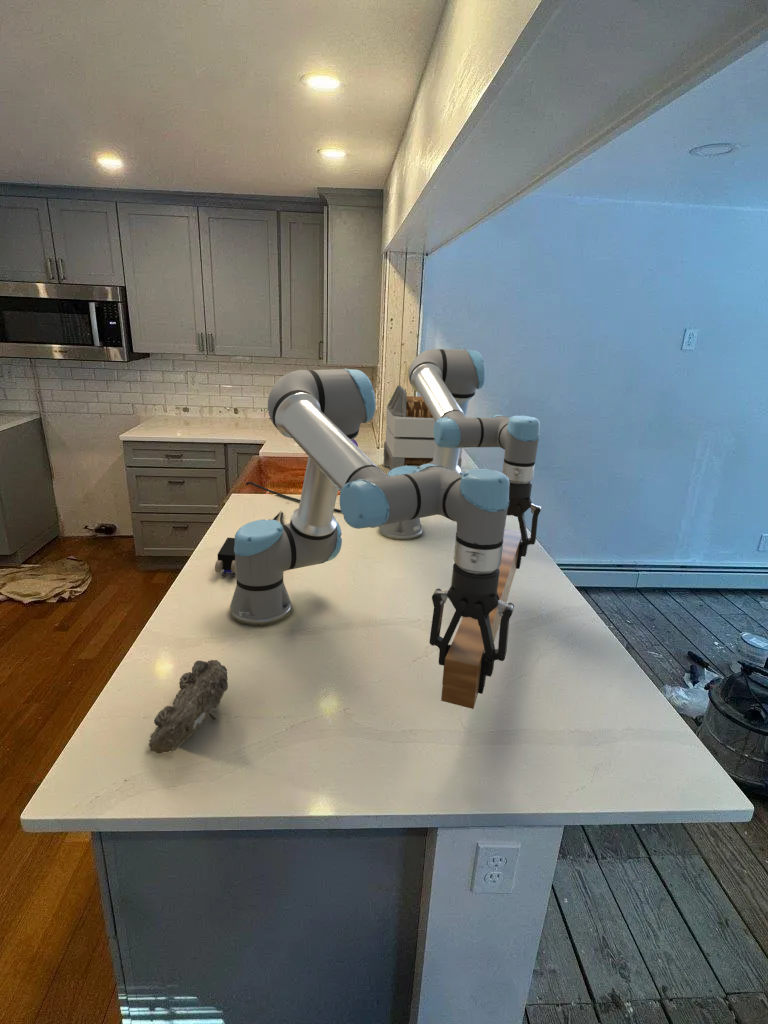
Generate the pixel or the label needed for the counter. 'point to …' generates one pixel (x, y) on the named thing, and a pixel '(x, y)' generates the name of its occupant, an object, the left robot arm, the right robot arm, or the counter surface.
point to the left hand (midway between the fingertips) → (463, 684)
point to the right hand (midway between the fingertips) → (506, 564)
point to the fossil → (189, 705)
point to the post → (477, 636)
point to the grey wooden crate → (409, 432)
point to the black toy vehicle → (226, 558)
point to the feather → (276, 516)
